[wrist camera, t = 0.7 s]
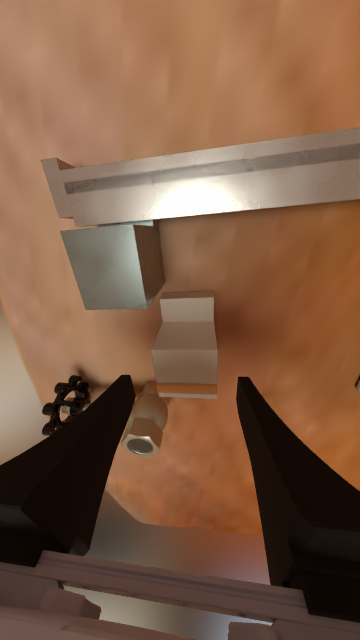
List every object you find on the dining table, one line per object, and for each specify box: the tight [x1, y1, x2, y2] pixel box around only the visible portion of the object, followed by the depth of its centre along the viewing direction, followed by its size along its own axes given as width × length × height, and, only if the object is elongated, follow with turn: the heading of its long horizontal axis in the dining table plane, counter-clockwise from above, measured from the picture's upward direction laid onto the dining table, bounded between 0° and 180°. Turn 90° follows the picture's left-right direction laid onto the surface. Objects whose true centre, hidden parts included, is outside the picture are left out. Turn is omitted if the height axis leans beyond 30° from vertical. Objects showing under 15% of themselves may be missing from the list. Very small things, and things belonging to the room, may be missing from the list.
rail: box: [41, 127, 360, 310], centre depth 11 cm, size 24×8×6 cm, turn 94°
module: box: [151, 291, 218, 399], centre depth 15 cm, size 4×7×6 cm
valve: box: [42, 375, 170, 457], centre depth 20 cm, size 7×7×12 cm
